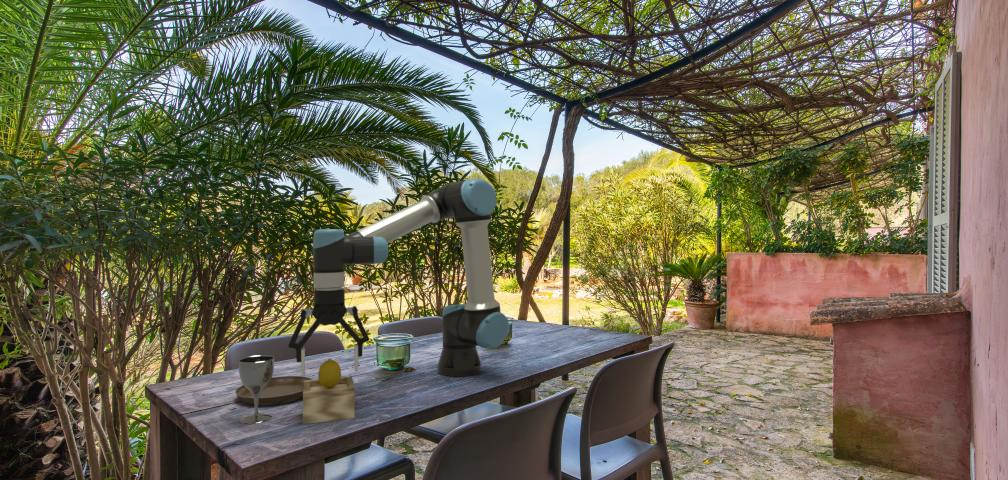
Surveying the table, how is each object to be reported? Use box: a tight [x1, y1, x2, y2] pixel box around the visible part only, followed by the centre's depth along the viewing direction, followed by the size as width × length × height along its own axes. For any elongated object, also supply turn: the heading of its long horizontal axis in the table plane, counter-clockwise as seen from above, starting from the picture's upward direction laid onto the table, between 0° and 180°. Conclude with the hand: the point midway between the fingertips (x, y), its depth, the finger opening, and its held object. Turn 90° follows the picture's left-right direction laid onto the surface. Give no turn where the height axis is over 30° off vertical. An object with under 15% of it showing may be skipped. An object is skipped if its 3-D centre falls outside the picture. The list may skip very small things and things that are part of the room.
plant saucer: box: [235, 375, 314, 406], centre depth 142 cm, size 21×21×3 cm
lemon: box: [317, 358, 342, 389], centre depth 127 cm, size 6×6×8 cm
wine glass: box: [238, 354, 275, 425], centre depth 123 cm, size 8×8×15 cm
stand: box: [302, 375, 356, 425], centre depth 127 cm, size 12×12×8 cm
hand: (330, 372), depth 127 cm, fingers open, 12 cm apart
